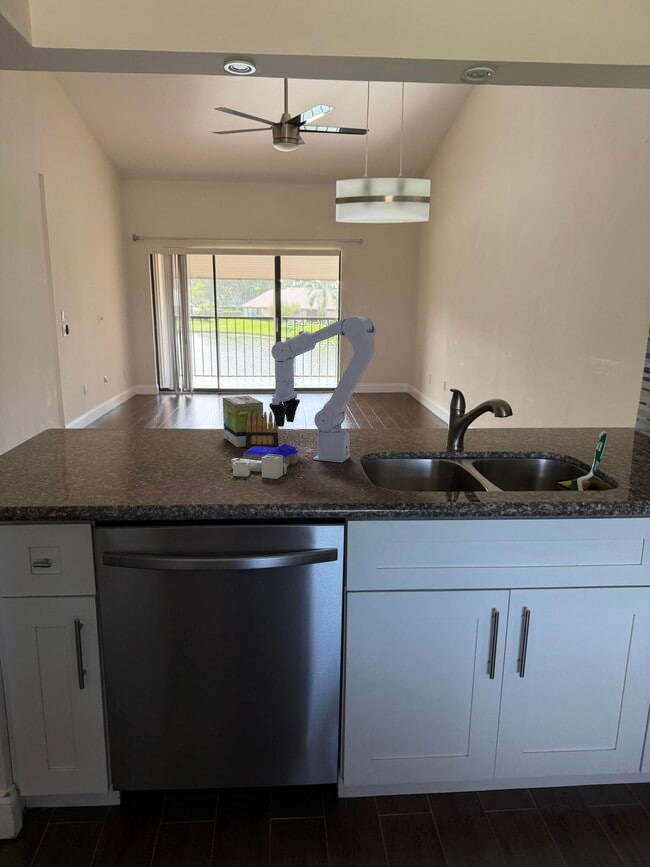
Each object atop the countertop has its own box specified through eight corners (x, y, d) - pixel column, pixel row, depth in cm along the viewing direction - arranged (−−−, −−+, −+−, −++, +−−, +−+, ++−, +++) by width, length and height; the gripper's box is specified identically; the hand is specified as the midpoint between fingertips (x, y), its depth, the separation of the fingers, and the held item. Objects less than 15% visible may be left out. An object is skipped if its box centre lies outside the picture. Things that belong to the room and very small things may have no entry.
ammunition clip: (245, 447, 190) (246, 410, 190) (246, 447, 191) (246, 411, 192) (278, 448, 189) (278, 411, 189) (278, 448, 191) (279, 411, 191)
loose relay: (250, 473, 162) (249, 460, 161) (247, 476, 159) (247, 463, 158) (235, 473, 162) (235, 460, 162) (233, 476, 160) (232, 463, 159)
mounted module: (282, 474, 161) (282, 454, 159) (276, 478, 157) (276, 458, 156) (268, 473, 162) (268, 453, 161) (261, 477, 158) (261, 456, 157)
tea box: (222, 438, 204) (221, 396, 201) (250, 435, 209) (249, 394, 206) (236, 447, 191) (234, 403, 188) (264, 444, 196) (264, 401, 192)
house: (292, 468, 168) (292, 451, 167) (242, 465, 171) (242, 448, 170) (301, 459, 178) (301, 442, 177) (254, 456, 181) (254, 439, 180)
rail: (287, 473, 163) (286, 462, 162) (284, 474, 161) (284, 464, 160) (234, 467, 168) (234, 457, 168) (231, 468, 166) (231, 459, 166)
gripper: (282, 377, 188) (283, 419, 191) (262, 383, 174) (263, 427, 177) (302, 378, 185) (303, 420, 188) (284, 384, 172) (284, 429, 175)
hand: (285, 424), depth 183 cm, fingers open, 7 cm apart
